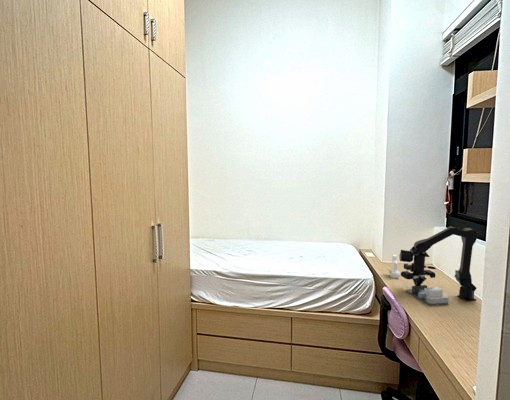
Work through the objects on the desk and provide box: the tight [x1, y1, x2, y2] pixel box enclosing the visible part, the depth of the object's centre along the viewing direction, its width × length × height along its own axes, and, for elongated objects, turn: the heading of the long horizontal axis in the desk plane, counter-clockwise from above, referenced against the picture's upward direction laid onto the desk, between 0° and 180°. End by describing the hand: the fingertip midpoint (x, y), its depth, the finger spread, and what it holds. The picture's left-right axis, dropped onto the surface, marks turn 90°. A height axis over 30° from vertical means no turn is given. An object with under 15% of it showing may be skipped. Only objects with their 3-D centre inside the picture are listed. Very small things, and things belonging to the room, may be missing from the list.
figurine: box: [387, 254, 402, 279], centre depth 195 cm, size 7×9×15 cm
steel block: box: [424, 286, 444, 300], centre depth 158 cm, size 8×4×6 cm, turn 100°
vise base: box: [405, 288, 450, 307], centre depth 163 cm, size 11×20×4 cm, turn 9°
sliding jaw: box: [411, 284, 428, 298], centre depth 164 cm, size 11×9×4 cm
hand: (416, 288), depth 170 cm, fingers closed, pressing on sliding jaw
